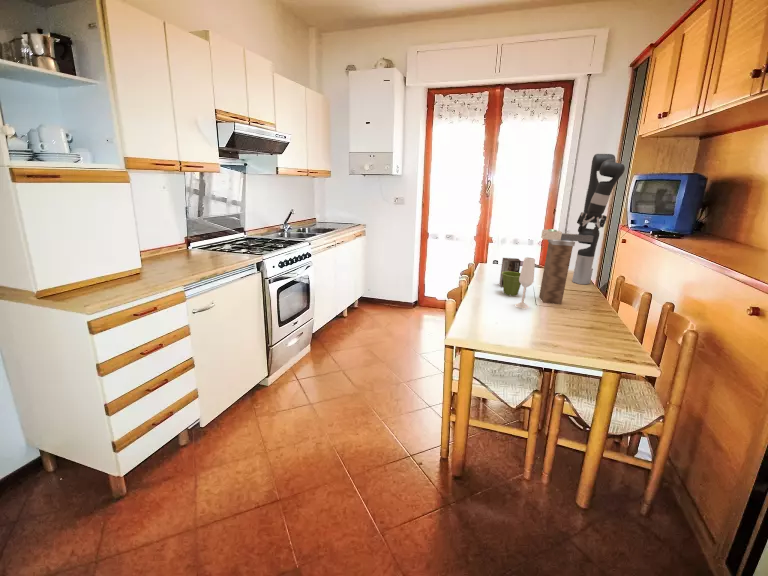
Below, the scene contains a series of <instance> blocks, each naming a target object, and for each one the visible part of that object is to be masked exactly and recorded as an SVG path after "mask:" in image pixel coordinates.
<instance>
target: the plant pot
mask: <svg viewBox="0 0 768 576" xmlns="http://www.w3.org/2000/svg"><path fill="white" fill-rule="evenodd" d="M502 274H503V287H502V288H503V294H504V295H506V296H512V297H513V296H515V297H516V296H517V295H518V294H519V290H520V288H521V286H522V285H521V284H520V282H519V277H520V274H521V272H519V273H518V272H511V271H505V272H502Z"/></svg>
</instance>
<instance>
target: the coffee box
mask: <svg viewBox="0 0 768 576" xmlns="http://www.w3.org/2000/svg"><path fill="white" fill-rule="evenodd" d="M521 262H522V261H521V260H520V259H519V258H515V257H513V258H511V257H502V261H501V269H500V277H499V282H498V283H499V284H500V285H499V287H501V288H503V274H502V272H505V271H511V272H518V273H520V271H521V270H520V269H521Z"/></svg>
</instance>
